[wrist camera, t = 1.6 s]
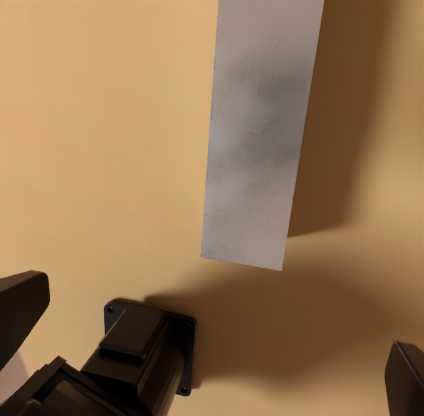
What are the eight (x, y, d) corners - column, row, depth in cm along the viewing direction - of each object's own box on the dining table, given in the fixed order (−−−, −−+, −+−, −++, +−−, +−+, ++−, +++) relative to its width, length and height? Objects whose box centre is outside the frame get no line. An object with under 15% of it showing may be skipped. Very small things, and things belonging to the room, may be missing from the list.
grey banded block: (284, 238, 21) (282, 271, 17) (216, 227, 21) (199, 257, 18) (346, -160, 15) (364, -244, 11) (248, -155, 15) (233, -233, 12)
